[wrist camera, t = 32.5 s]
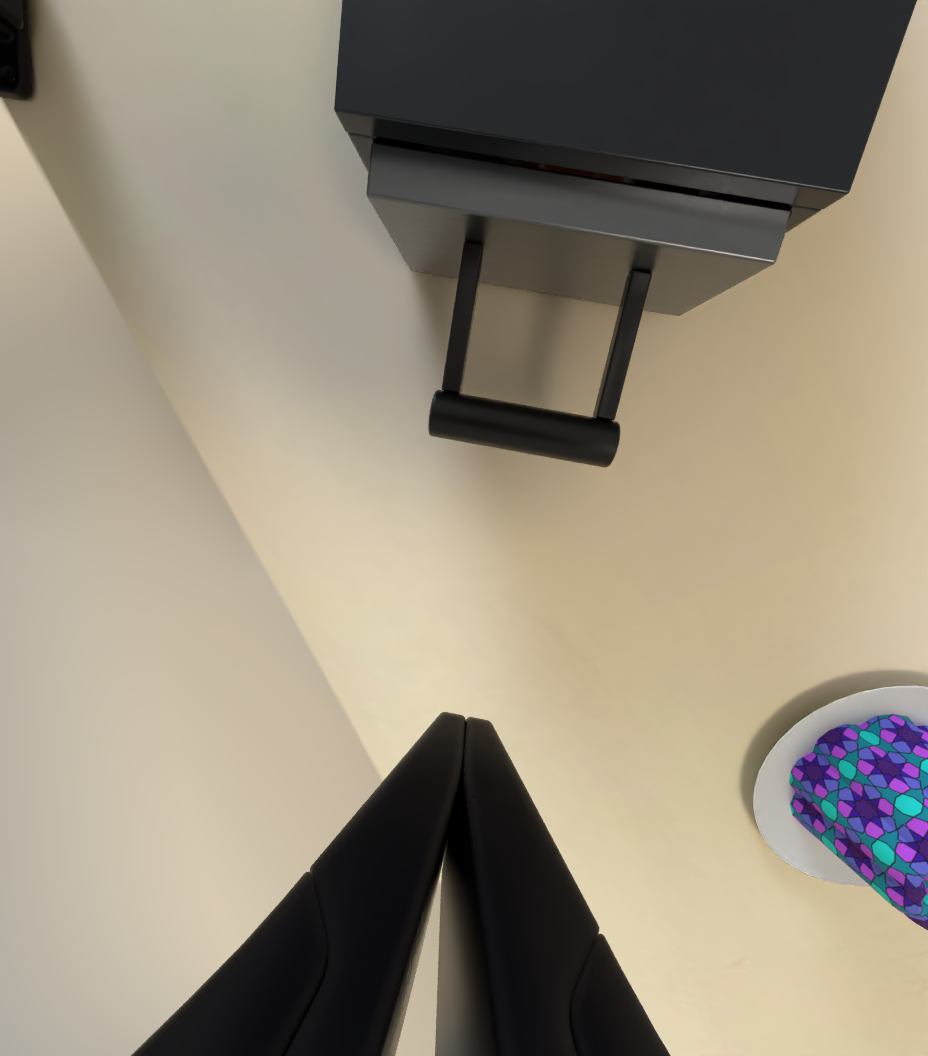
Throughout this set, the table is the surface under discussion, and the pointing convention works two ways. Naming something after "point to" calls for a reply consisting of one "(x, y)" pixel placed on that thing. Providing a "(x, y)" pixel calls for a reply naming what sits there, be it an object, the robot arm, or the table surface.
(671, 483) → the table surface
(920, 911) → the pudding
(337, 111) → the cabinet
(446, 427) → the drawer
